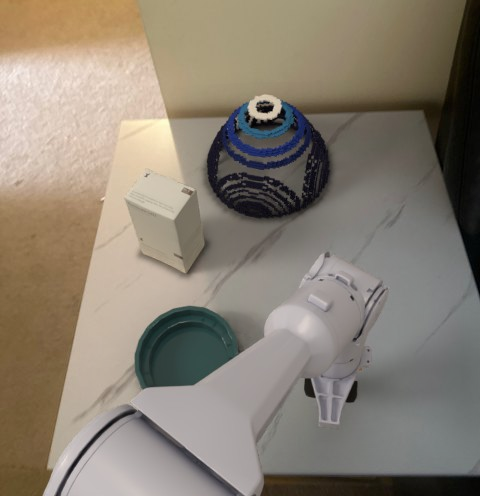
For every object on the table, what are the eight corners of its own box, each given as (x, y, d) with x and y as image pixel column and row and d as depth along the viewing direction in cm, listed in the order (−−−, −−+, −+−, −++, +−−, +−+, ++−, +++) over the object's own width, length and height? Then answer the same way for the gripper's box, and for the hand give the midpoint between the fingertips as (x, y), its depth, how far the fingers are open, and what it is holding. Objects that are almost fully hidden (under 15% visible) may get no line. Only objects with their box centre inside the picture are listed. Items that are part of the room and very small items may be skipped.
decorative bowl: (317, 228, 86) (321, 171, 74) (193, 205, 90) (179, 148, 79) (338, 132, 97) (344, 69, 86) (227, 116, 101) (219, 54, 90)
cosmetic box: (142, 254, 85) (118, 198, 74) (163, 223, 88) (143, 165, 77) (189, 275, 83) (172, 221, 71) (209, 243, 86) (196, 186, 74)
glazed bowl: (231, 425, 70) (228, 416, 66) (129, 409, 72) (121, 400, 69) (247, 324, 77) (245, 312, 74) (155, 312, 79) (149, 300, 76)
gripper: (376, 417, 51) (361, 450, 62) (378, 275, 60) (364, 325, 71) (298, 406, 52) (297, 440, 63) (311, 268, 61) (308, 318, 72)
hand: (328, 379), depth 67 cm, fingers closed on toy figure, 3 cm apart
